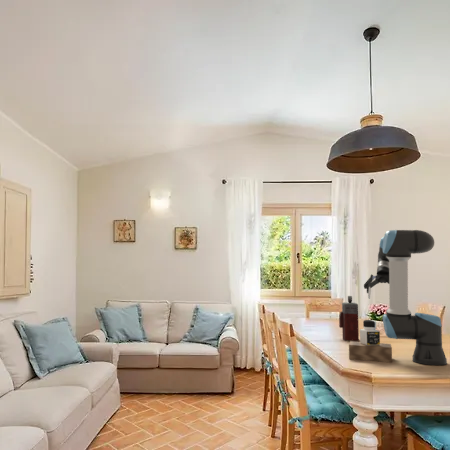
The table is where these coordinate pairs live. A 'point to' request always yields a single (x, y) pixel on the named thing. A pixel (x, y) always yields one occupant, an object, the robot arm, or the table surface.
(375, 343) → the medicine bottle
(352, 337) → the dark red tall piece
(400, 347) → the table surface
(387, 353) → the walnut box
